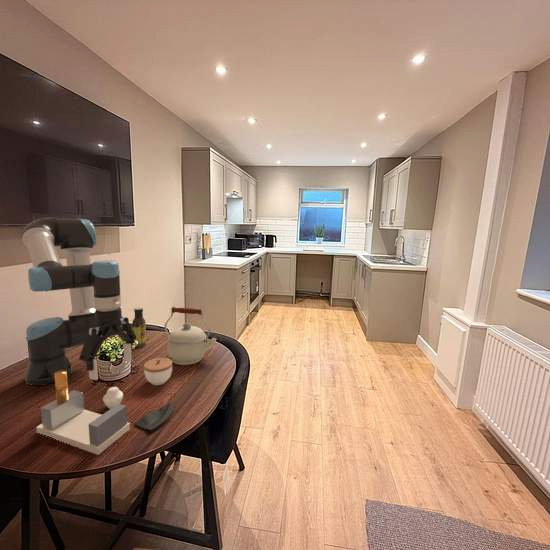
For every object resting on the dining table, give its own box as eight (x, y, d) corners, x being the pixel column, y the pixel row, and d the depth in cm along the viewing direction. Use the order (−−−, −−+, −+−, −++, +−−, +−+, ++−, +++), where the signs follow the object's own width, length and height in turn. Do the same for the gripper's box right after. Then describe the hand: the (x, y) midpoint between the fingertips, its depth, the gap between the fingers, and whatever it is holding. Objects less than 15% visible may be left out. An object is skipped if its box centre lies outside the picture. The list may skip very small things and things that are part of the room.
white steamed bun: (109, 414, 95) (108, 394, 94) (99, 407, 98) (98, 388, 97) (127, 404, 100) (126, 386, 99) (117, 398, 103) (116, 380, 102)
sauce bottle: (143, 348, 147) (142, 310, 144) (130, 348, 146) (129, 310, 143) (148, 343, 153) (146, 307, 150) (136, 343, 153) (134, 306, 149)
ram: (42, 426, 85) (37, 379, 82) (75, 407, 94) (71, 364, 92) (52, 429, 84) (47, 381, 81) (84, 409, 93) (81, 366, 91)
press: (36, 433, 85) (34, 408, 84) (72, 411, 96) (71, 389, 94) (98, 455, 78) (96, 428, 77) (130, 429, 88) (129, 405, 87)
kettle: (155, 365, 129) (154, 311, 125) (174, 348, 147) (173, 301, 143) (209, 370, 127) (209, 315, 123) (221, 352, 145) (222, 304, 141)
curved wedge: (184, 410, 99) (184, 406, 99) (151, 435, 87) (151, 430, 87) (166, 403, 102) (166, 399, 102) (132, 426, 90) (132, 421, 90)
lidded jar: (163, 390, 110) (162, 367, 109) (138, 386, 112) (137, 363, 111) (177, 376, 120) (177, 355, 119) (155, 373, 122) (154, 352, 121)
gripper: (80, 320, 81) (85, 390, 84) (145, 301, 104) (147, 356, 108) (61, 317, 83) (67, 385, 86) (129, 299, 107) (131, 353, 110)
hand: (111, 369), depth 97 cm, fingers open, 13 cm apart
